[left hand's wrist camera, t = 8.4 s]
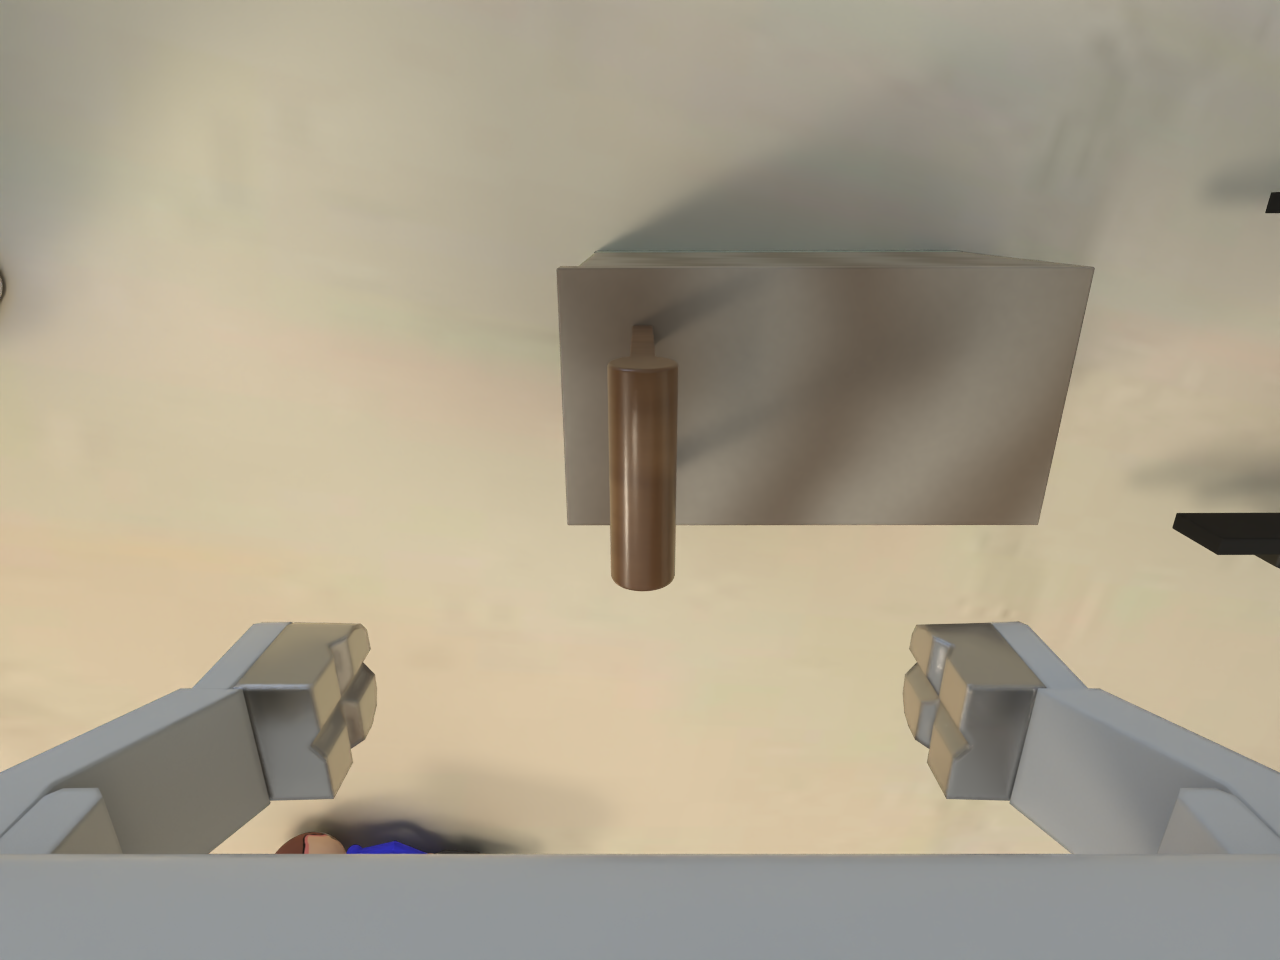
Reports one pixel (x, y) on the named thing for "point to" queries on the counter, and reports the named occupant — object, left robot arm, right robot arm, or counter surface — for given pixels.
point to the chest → (803, 258)
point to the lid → (809, 397)
